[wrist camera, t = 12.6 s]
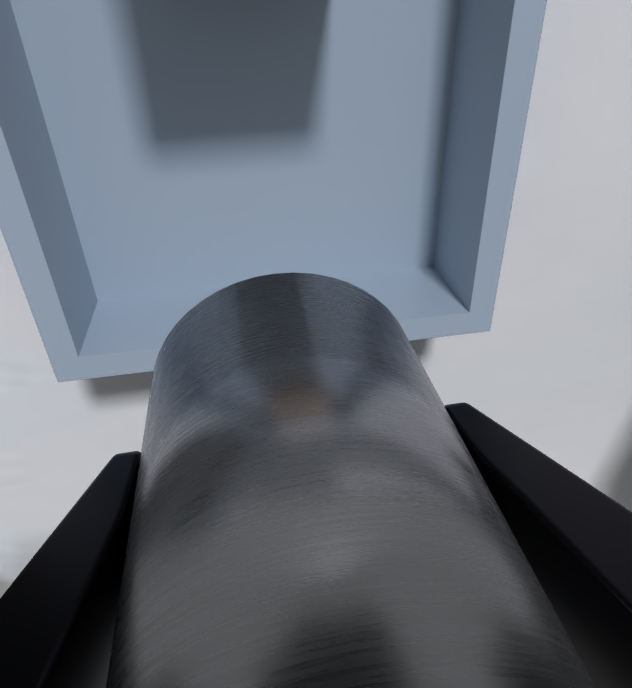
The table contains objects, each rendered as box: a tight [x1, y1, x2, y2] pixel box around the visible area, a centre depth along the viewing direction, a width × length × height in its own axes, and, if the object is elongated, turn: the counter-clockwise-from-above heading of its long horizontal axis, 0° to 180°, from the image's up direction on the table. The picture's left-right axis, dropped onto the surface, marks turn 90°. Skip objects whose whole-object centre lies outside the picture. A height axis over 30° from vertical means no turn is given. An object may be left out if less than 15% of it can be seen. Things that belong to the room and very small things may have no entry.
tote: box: [0, 0, 547, 382], centre depth 14 cm, size 14×18×4 cm
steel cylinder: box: [106, 272, 596, 688], centre depth 8 cm, size 5×5×7 cm
